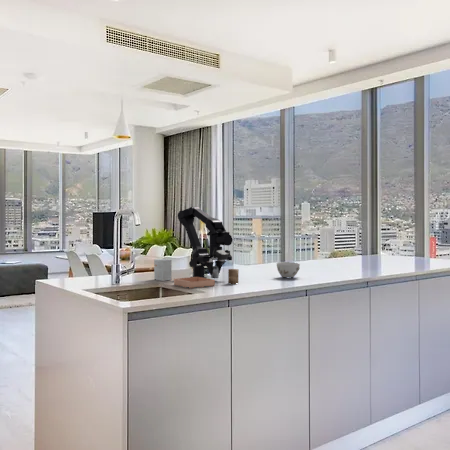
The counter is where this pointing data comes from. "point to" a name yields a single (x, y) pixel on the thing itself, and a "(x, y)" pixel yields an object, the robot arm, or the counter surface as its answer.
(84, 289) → the counter surface
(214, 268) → the steel peg
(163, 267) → the small box
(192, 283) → the shallow square tray
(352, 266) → the counter surface
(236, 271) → the walnut knob
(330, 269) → the counter surface
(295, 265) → the teacup
